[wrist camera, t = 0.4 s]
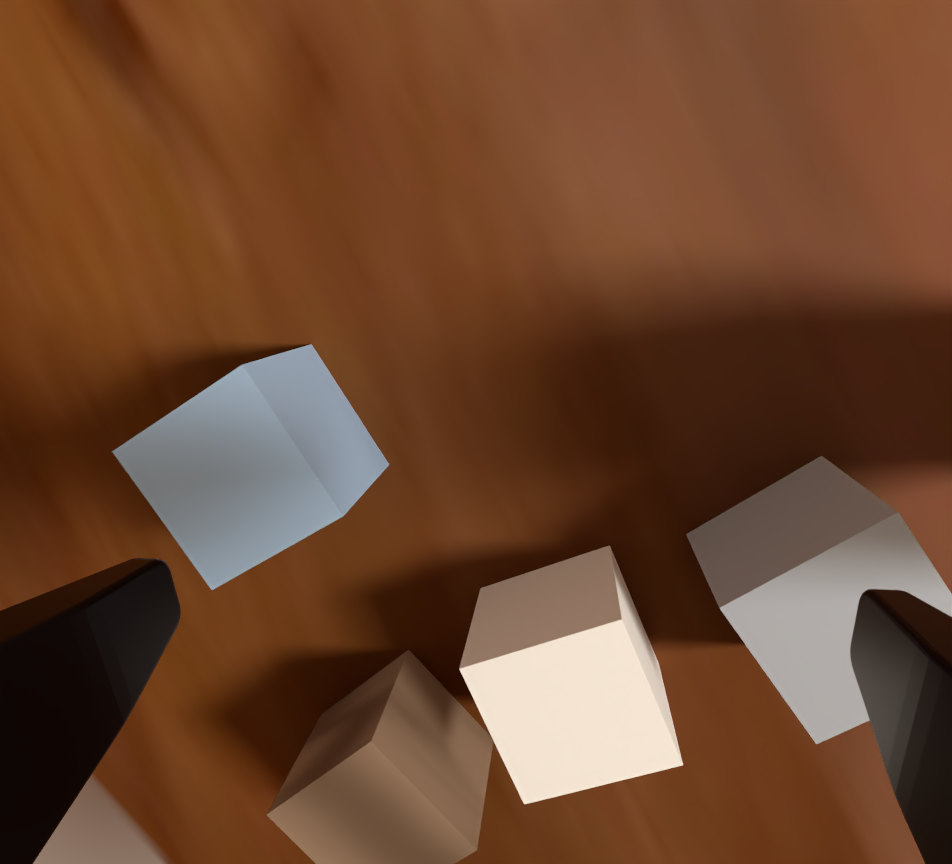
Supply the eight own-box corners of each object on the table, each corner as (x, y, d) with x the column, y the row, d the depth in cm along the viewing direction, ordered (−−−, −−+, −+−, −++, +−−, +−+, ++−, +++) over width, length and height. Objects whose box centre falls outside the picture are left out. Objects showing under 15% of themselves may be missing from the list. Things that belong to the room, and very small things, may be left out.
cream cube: (531, 698, 24) (524, 804, 19) (480, 586, 23) (459, 669, 19) (658, 662, 23) (683, 765, 18) (609, 544, 22) (622, 619, 18)
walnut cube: (403, 797, 26) (368, 915, 22) (321, 713, 26) (266, 815, 21) (493, 738, 25) (476, 850, 20) (409, 648, 24) (371, 741, 20)
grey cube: (762, 642, 22) (816, 744, 18) (685, 533, 22) (719, 607, 17) (898, 573, 21) (995, 662, 16) (820, 455, 21) (898, 511, 16)
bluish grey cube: (282, 525, 24) (211, 590, 19) (205, 413, 23) (112, 451, 18) (389, 464, 23) (343, 516, 18) (312, 343, 22) (241, 364, 17)
